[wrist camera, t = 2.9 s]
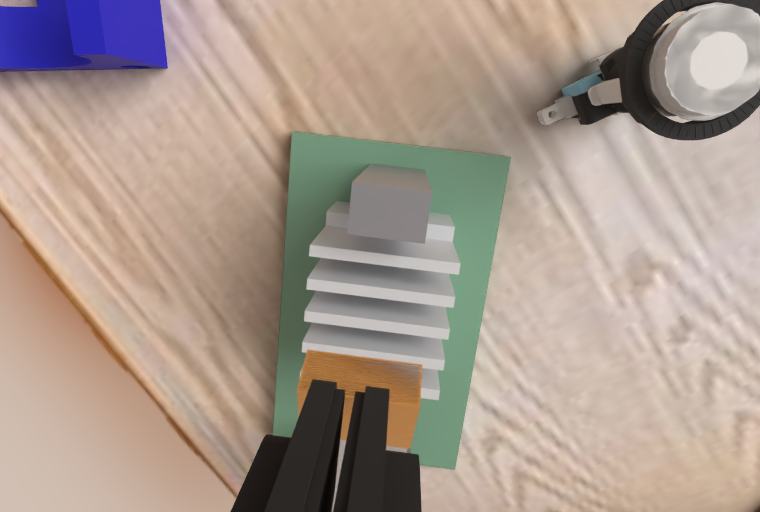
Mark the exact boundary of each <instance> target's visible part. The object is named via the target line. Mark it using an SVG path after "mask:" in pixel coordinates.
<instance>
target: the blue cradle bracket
mask: <svg viewBox="0 0 760 512" xmlns="http://www.w3.org/2000/svg"><path fill="white" fill-rule="evenodd" d="M37 4H38V7H3V6H0V72H4V71H54V70H104V69H154V68H168V66H167V57H166V49H165V40H164V31H163V23H162V14H161V5H160V0H37Z"/></svg>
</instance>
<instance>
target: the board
mask: <svg viewBox="0 0 760 512" xmlns="http://www.w3.org/2000/svg"><path fill="white" fill-rule="evenodd" d="M510 158H511V157H508V156H501V155H492V154H484V153H475V152H467V151H458V150H450V149H441V148H433V147H424V146H416V145H407V144H399V143H390V142H382V141H373V140H365V139H356V138H347V137H339V136H330V135H322V134H313V133H305V132H296V131H295V132H292V138H291V154H290V170H289V185H288V201H287V217H286V233H285V249H284V264H283V280H282V296H281V312H280V327H279V343H278V359H277V375H276V390H275V406H274V422H273V435H275V436H283V437H290V438H291V437H292V434H293V431H294V429H295V426H296V423H297V420H298V418H299V412H298V401H297V388H298V384H299V380H300V376H301V372H302V368H303V364H304V361H305V357H306V353H307V350H315V351H323V352H330V353H338V354H346V355H354V356H361V357H369V358H377V359H384V360H392V361H400V362H408V363H415V364H422V383H421V403H420V410H419V414H418V419H417V423H416V427H415V431H414V435H413V439H412V443H411V447H410V449H407V453H412V454H418V455H419V463H420V465H423V466H431V467H438V468H446V469H453V470H455V466H456V461H457V455H458V449H459V444H460V438H461V433H462V427H463V421H464V416H465V410H466V405H467V399H468V393H469V388H470V382H471V377H472V371H473V365H474V360H475V354H476V349H477V343H478V337H479V332H480V326H481V321H482V315H483V309H484V304H485V298H486V293H487V287H488V281H489V276H490V270H491V265H492V259H493V253H494V248H495V242H496V237H497V231H498V225H499V220H500V214H501V209H502V203H503V197H504V192H505V186H506V181H507V175H508V169H509V164H510Z"/></svg>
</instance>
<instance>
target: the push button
mask: <svg viewBox="0 0 760 512" xmlns="http://www.w3.org/2000/svg"><path fill="white" fill-rule="evenodd" d="M680 11H687V12H685V13H684V14H682V15H681V16H679V17H678V18H676V19H675V20H673V21H672V22H671V23H668V24H666V25H663V26H661V25H662V24H663V23H664V22H665V21H666V20H667V19H668V18H670V17H671V16H672V15H673V14H675V13H677V12H680ZM660 26H661V27H660ZM597 60H598V62H599V67H600V69H601V70H599V71H597V72H594V73H592V74H590V75H588V76H586V77H584V78H582V79H580V80H578V81H576V82H574V83H572V84H570V85H568V86H565V87H563V88H562V89H561V90H562V92H563V95H564V96H563V97H561V98H558V99H556V100H554V101H555V104H553V105H550V106H548V107H546V108H544V109H542V110H540V111H538V112H537V116H538V118H539V121H540V123H541V125H549V124H552V123H554V122H556V121H558V120H560V119H564V118H567V119H569V118H571V117H572V118H578V119H579V122H580V124H581V125H588V124H592V123H594V122H597V121H599V120H601V119H603V118H605V117H607V116H610V115H615V114H619V113H628V112H629V113H630V114H631V116H632V117H633V118H634V119H635V120H636V122H638V123H640V124H643V125H644V126H645V127H646V128H648V129H649V130H651V131H652V132H654V133H656V134H658V135H661V136H664V137H667V138H671V139H677V140H702V139H707V138H711V137H714V136H718V135H720V134H722V133H725V132H727V131H729V130H731V129H733V128H734V127H736V126H737V125H739V124H740V123H742V122H743V121H744V120H745V119H747V118H748V117H749V116H750V115H751V114H752V113H753V112H754V111H755V110H756V109H757V108H758V107H759V105H760V0H663V1H662V2H660V3H659V4H658V5H657V6H655V7H654V8H653V9H652V10H651V11H650V12H649V13H648V14H647V15H646V16H645V17H644V18H643V20H642V21H641V22H640V24H639V25H638V26H637V28H636V30H635V31H634V32H633V33H632V34H631V35H630V36H629V37H628V38H627V40H626V43H625V45H624V47H622V48H618V49H615V50H613V51H610V52H608V53H605V54H603V55H601V56H599V57H597V58H595V59H593V60H591V61H589V63H591V62H594V61H597ZM549 112H551V114H552V115H551V117H549ZM665 116H678V117H680V118H682V119H685V120H692V121H689V122H686V123H679V122H675V121H673V120H671V119H668V118H667V117H665Z"/></svg>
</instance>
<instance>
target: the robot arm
mask: <svg viewBox="0 0 760 512" xmlns="http://www.w3.org/2000/svg"><path fill="white" fill-rule="evenodd" d="M389 393H390V389H386V388H379V387H371V386H366V388H365V392H358V391H355V397H354V402H353V407H352V413H351V418H350V423H349V429H348V434H347V439H346V445H345V450H344V455H343V461H342V466H341V471H340V477H339V482H338V487H337V493H336V498H335V503H334V509H333V512H421V488H420V463H419V455H418V454H412V453H405V452H397V451H390V450H386V443H387V426H388V410H389ZM344 400H345V390H342V389H337V382H332V381H324V380H316V379H313V380H312V382H311V385H310V387H309V390H308V393H307V396H306V398H305V401H304V404H303V407H302V409H301V412H300V415H299V418H298V420H297V423H296V426H295V429H294V431H293V434H292V437H291V438H290V437H283V436H275V435H268V434H267V435H266V436H265V437H264V439H263V441H262V443H261V445H260V447H259V450H258V452H257V454H256V456H255V459H254V461H253V463H252V465H251V467H250V470H249V472H248V474H247V476H246V479H245V481H244V483H243V485H242V487H241V490H240V492H239V494H238V496H237V499H236V501H235V503H234V505H233V508H232V510H231V512H332V506H333V500H334V493H335V484H336V474H337V465H338V456H339V447H340V437H341V428H342V419H343V409H344Z"/></svg>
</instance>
